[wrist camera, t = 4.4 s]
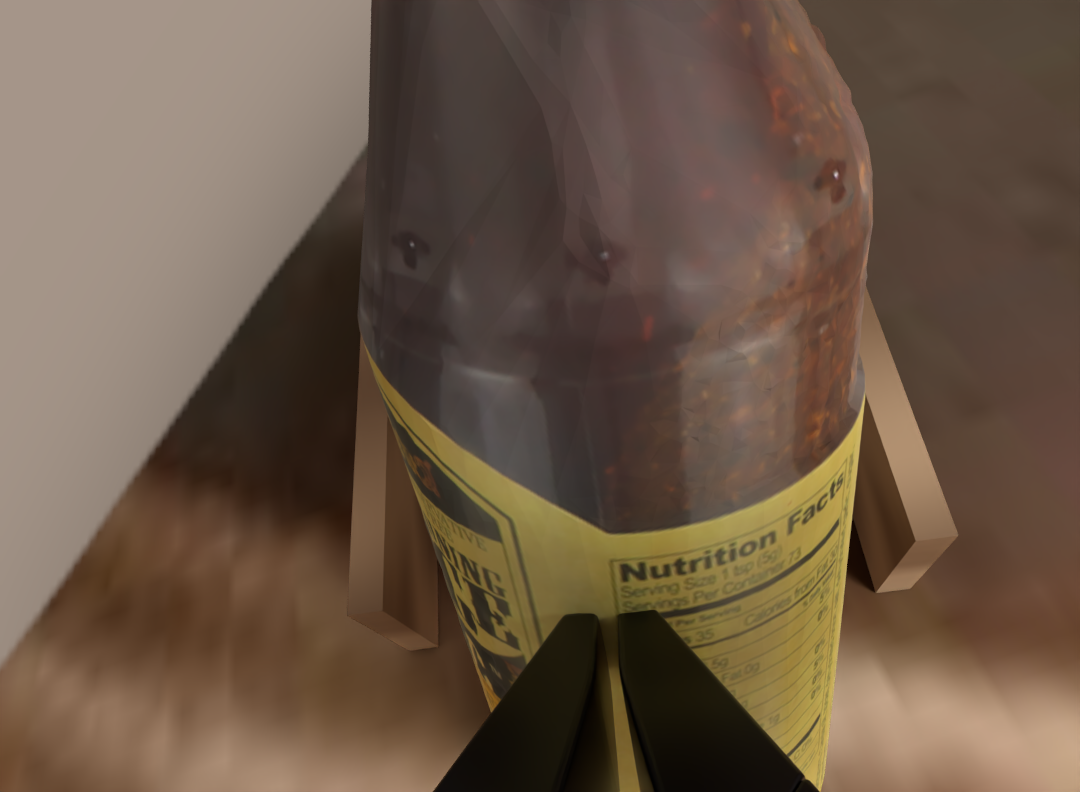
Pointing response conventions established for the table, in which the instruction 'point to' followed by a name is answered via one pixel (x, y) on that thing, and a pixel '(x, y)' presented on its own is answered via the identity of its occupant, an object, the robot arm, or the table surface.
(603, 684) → the robot arm
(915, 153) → the table surface
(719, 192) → the sauce bottle
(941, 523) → the crate
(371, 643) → the table surface
